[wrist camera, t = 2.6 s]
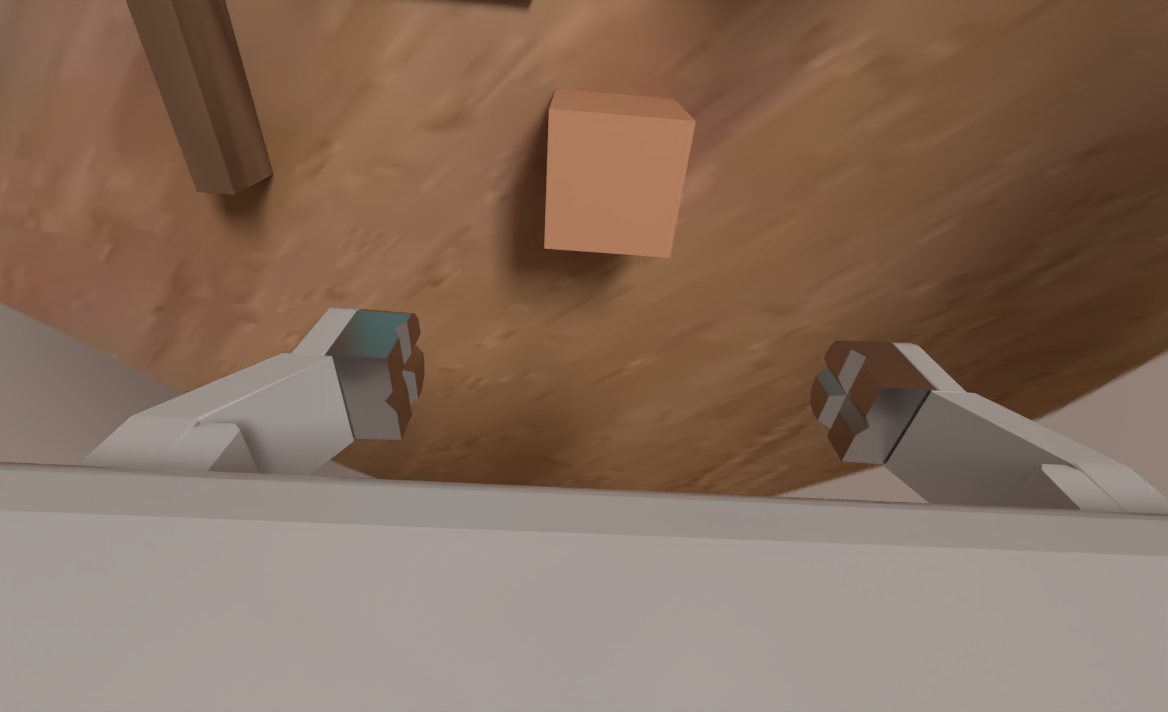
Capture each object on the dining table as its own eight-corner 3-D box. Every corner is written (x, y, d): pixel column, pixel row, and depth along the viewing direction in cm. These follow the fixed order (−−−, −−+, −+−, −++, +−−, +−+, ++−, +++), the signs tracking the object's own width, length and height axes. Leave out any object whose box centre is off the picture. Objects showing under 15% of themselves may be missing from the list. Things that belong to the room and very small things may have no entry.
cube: (674, 98, 21) (695, 121, 17) (655, 214, 24) (669, 257, 20) (556, 88, 21) (548, 108, 17) (551, 206, 24) (544, 248, 19)
